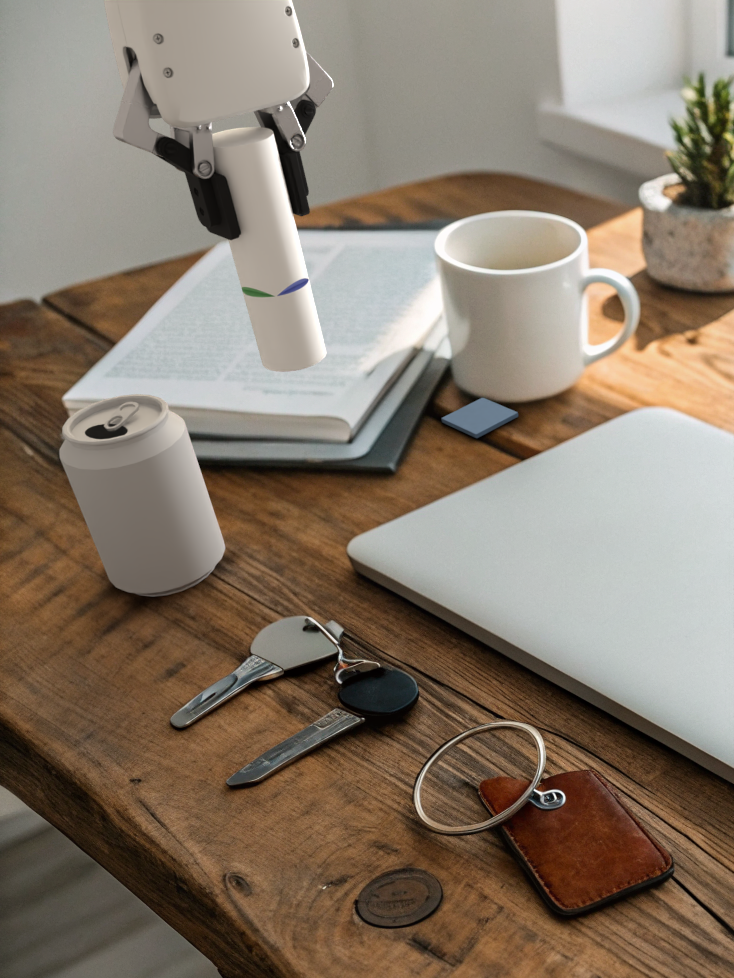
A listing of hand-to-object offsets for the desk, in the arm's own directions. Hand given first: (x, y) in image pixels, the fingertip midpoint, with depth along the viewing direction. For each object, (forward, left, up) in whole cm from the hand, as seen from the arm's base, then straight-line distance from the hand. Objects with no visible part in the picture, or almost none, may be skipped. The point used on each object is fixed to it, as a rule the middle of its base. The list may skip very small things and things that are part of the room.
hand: (258, 220), depth 75 cm
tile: (+14, -1, -21) cm, 25 cm away
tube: (0, 0, -10) cm, 10 cm away
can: (-12, 0, -21) cm, 24 cm away
